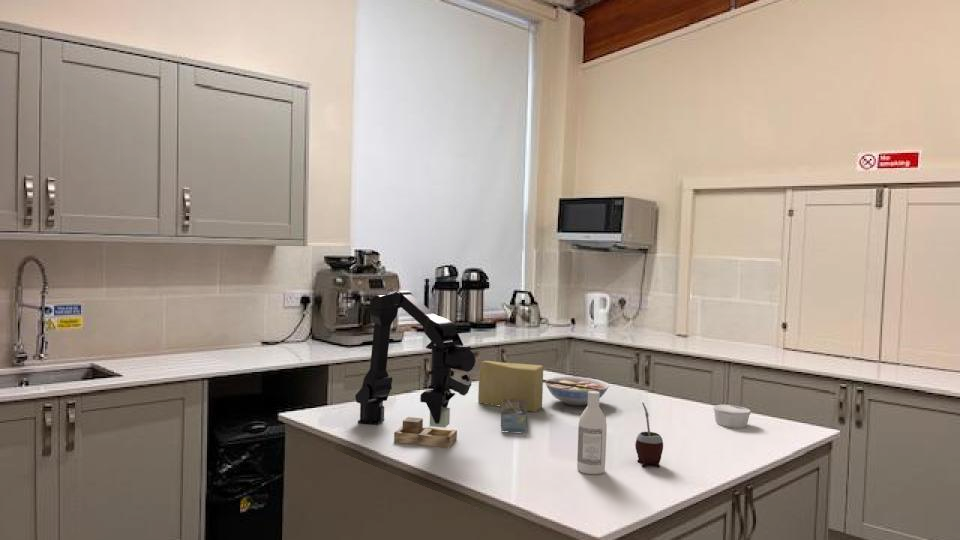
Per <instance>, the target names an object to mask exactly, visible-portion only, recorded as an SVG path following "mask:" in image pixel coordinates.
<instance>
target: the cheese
mask: <svg viewBox="0 0 960 540" xmlns="http://www.w3.org/2000/svg"><path fill="white" fill-rule="evenodd" d="M478 376H479V377H478V397H477V400H478V403H479V402H481V403H480V404H482V403H487V404H486V405H488V404H493V405H492V406H494V405H500V406H499V407H501V406H502V403H503V399H526V403H527V412H531V413H535V412H537V411H538V410H540V409H541V408H542V407H543V393H544V392H543V388H544V387H543V385H544V383H543V380H544V366H543V365H540V364H539V365H538V364H530V363H529V364H528V363H512V362H501V361H493V360H482V362H481V363H480V370H479V375H478Z"/></svg>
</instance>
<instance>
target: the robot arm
mask: <svg viewBox="0 0 960 540" xmlns="http://www.w3.org/2000/svg"><path fill="white" fill-rule="evenodd" d="M400 308H401V309H402V310H403V311H405V312H406V313H407V314H408V315H409V316H410V317H411V318H413V319H414V320H415V321H416V322H417V323H419V324H420V325H421V327H422V328H423V332H424V334H425V335H426V337H427V338H428V339H429V341H430V342H429V343H428V344H427V345H426V346H425V348H426V349H427V350H431V355H430V356H431V358H430V359H431V361H430V369H429V370H428V375H430V384H428V388H427V389H426V390H424V391H423V392H422V393H421V394H420V398H419V400H420V401H419V402H421V403H424V404H426V406H427V408H428V409H429V413H430V412H431V415H432V417H433V419H434V422H435V423H436V424H439V422H440V417H441V412H442V407H445V408H448V406H449V403H450V400H451V399H452V398H453V397H454V396H455V395H456V393H458V394H459V395H461V396H466V395H467V394H468V393H469V391H470V389H471V387H472V380H471V378H470V375H469V374H467V373H469V372H471V371H472V370H473V369H474V367H475V364H476V357H475V354H474V353H473V351H472V349H471V346H470V345H464V343H463V340H462V339H461V336H460V335H459V332H458V331H457V327H456V324H455V323H454V322H453V321H451V320H449V319H448V318H446V317H443V316H440V315H437V314H435V313H434V312H432V310H431V309H429V308H428V307H427V306H426V305H424V303H422V302H421V301H420V300H419V299H418V298H416V297H415V296H414V295H413V293H412V292H411V291H409V290H398V291H396V292H392V293H390V294H389V293H388V294H378V295H377V294H375V296H373V297H372V298H371V299H370V303H369V314H370V317H371V319H372V321H373V323H374V324H373V333H372V334H373V335H372V345H371V355H370V365H369V366H370V367H369V369H368V371H367V373H366V374H365V376H364V378H363V380H362V386H361V388H360V389H359V391H358V392H357V393H356V394H355V402H356V403H357V404H360V405H359V406H360V407H359V408H360V410H359V419H358V420H357V423H359V424H369V425H378V424H381V422H383V421H384V420H385V405H384V403H383V402H386V401H387V400H388V398H389V395H390V393H391V390H393V388H392V383H393V376H390V375H389V373H388V371H387V366H388V357H389V347H390V346H389V345H390V338H391V337H390V336H391V327H392V323H393V322H394V321H395V319H396V317H397V316H398V315H397V314H398V311H399V309H400ZM455 370H457V371H463V372H466V373H464V374H463V375H462V376H460V375H456V374H455ZM452 391H454V392H452ZM455 392H456V393H455Z"/></svg>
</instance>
